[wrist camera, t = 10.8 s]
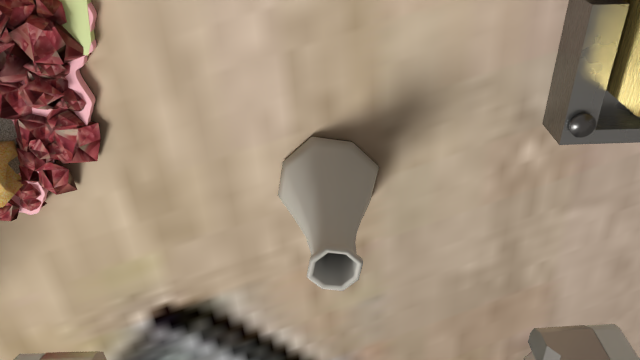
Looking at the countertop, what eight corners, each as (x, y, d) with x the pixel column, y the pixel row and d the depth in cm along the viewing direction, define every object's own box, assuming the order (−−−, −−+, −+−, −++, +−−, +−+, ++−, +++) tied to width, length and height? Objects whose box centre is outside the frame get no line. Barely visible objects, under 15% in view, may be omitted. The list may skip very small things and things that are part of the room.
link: (571, -9, 34) (595, 6, 31) (700, -12, 34) (737, 2, 32) (542, 124, 39) (561, 147, 36) (656, 120, 39) (684, 143, 36)
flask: (395, 159, 40) (421, 248, 32) (347, 231, 44) (358, 329, 35) (305, 118, 38) (307, 201, 30) (261, 197, 42) (252, 292, 33)
